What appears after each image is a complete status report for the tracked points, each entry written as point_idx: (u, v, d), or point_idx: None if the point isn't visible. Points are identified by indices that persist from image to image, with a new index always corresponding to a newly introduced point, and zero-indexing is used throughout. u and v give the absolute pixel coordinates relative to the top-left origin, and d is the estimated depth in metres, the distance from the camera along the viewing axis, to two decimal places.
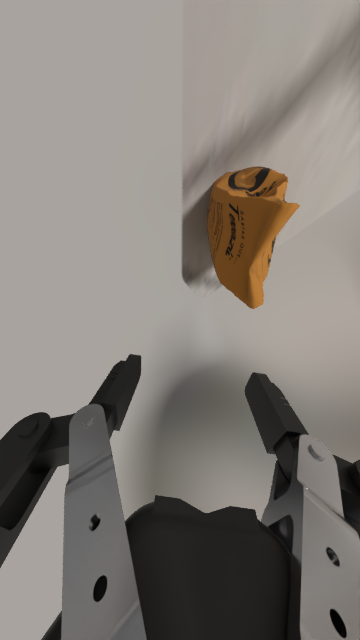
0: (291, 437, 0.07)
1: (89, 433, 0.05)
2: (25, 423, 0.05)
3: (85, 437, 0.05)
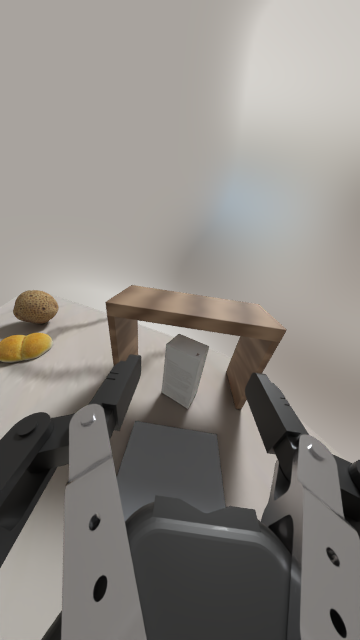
0: (291, 437, 0.07)
1: (89, 433, 0.05)
2: (25, 423, 0.05)
3: (85, 437, 0.05)
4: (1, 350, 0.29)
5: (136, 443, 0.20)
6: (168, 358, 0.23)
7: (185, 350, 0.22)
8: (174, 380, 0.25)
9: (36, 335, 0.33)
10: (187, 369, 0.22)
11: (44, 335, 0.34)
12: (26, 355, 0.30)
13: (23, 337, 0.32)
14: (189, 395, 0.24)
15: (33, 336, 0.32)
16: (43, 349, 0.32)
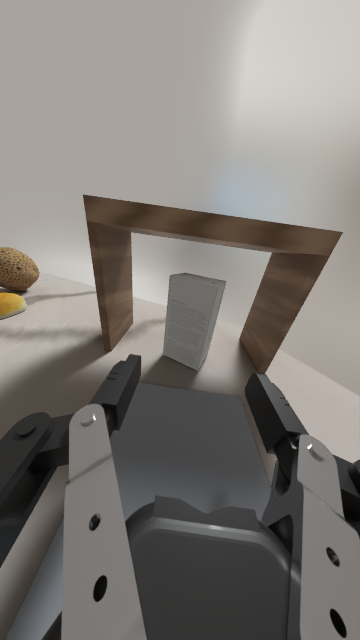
0: (291, 437, 0.07)
1: (89, 433, 0.05)
2: (25, 423, 0.05)
3: (85, 437, 0.05)
4: None
5: None
6: (172, 297, 0.17)
7: (196, 279, 0.16)
8: (180, 330, 0.19)
9: (4, 293, 0.26)
10: (198, 307, 0.16)
11: (15, 294, 0.27)
12: None
13: None
14: (200, 348, 0.18)
15: None
16: (11, 308, 0.25)
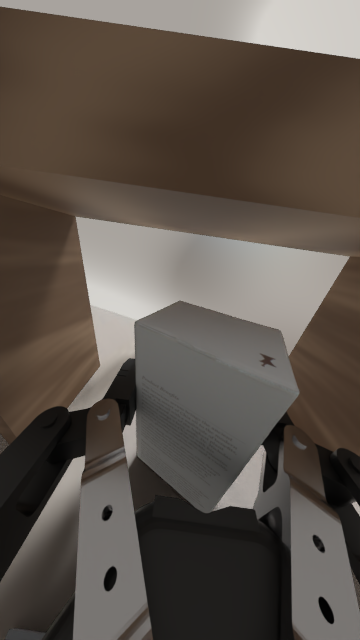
0: (277, 428, 0.07)
1: (104, 426, 0.06)
2: (47, 415, 0.06)
3: (103, 429, 0.06)
4: None
5: None
6: (145, 373, 0.07)
7: (209, 341, 0.05)
8: (167, 440, 0.08)
9: None
10: (214, 420, 0.06)
11: None
12: None
13: None
14: (216, 493, 0.07)
15: None
16: None
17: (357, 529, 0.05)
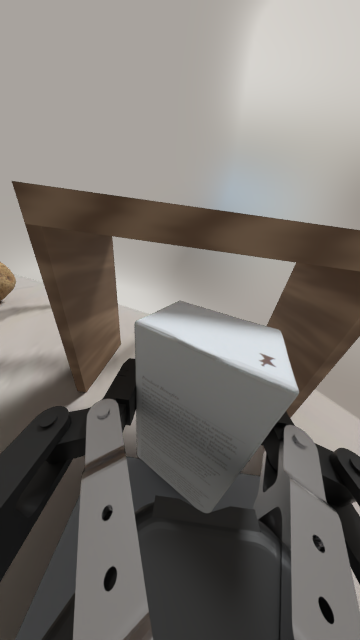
0: (277, 428, 0.07)
1: (104, 426, 0.06)
2: (47, 416, 0.06)
3: (103, 429, 0.06)
4: None
5: None
6: (145, 373, 0.07)
7: (209, 341, 0.05)
8: (167, 440, 0.08)
9: None
10: (214, 420, 0.06)
11: None
12: None
13: None
14: (216, 492, 0.07)
15: None
16: None
17: (357, 529, 0.05)
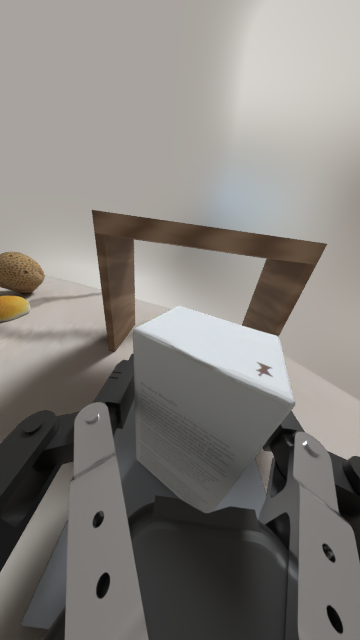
0: (287, 434, 0.07)
1: (94, 431, 0.05)
2: (31, 421, 0.05)
3: (90, 435, 0.05)
4: None
5: None
6: (143, 380, 0.07)
7: (207, 349, 0.05)
8: (166, 445, 0.08)
9: (9, 296, 0.27)
10: (212, 428, 0.06)
11: (19, 297, 0.28)
12: None
13: None
14: (215, 498, 0.07)
15: (5, 296, 0.27)
16: (17, 311, 0.27)
17: None
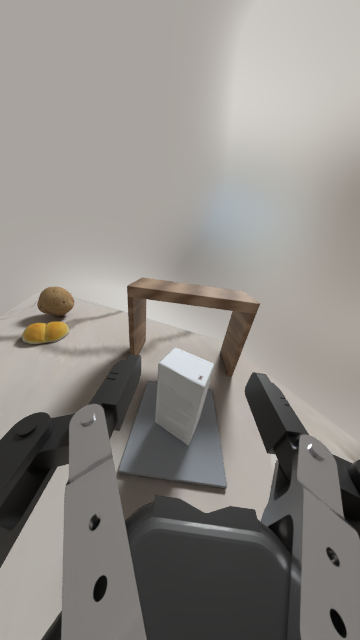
0: (291, 437, 0.07)
1: (89, 433, 0.05)
2: (25, 423, 0.05)
3: (85, 437, 0.05)
4: (29, 333, 0.34)
5: (149, 394, 0.26)
6: (161, 381, 0.18)
7: (184, 371, 0.16)
8: (170, 409, 0.19)
9: (56, 322, 0.39)
10: (186, 397, 0.17)
11: (62, 323, 0.40)
12: (49, 337, 0.36)
13: (45, 324, 0.38)
14: (190, 429, 0.18)
15: (54, 323, 0.38)
16: (62, 334, 0.38)
17: None
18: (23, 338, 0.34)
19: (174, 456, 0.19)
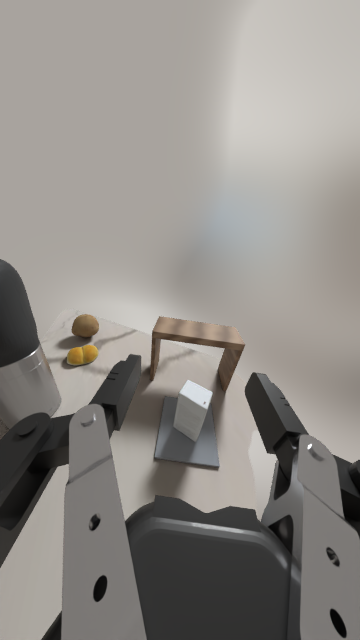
0: (291, 437, 0.07)
1: (89, 433, 0.05)
2: (25, 423, 0.05)
3: (85, 437, 0.05)
4: (72, 357, 0.45)
5: (167, 406, 0.37)
6: (180, 403, 0.29)
7: (194, 398, 0.27)
8: (185, 419, 0.30)
9: (89, 347, 0.49)
10: (196, 413, 0.28)
11: (93, 347, 0.50)
12: (86, 360, 0.46)
13: (81, 348, 0.49)
14: (197, 432, 0.29)
15: (88, 348, 0.49)
16: (95, 356, 0.48)
17: None
18: (68, 361, 0.45)
19: (187, 449, 0.30)
